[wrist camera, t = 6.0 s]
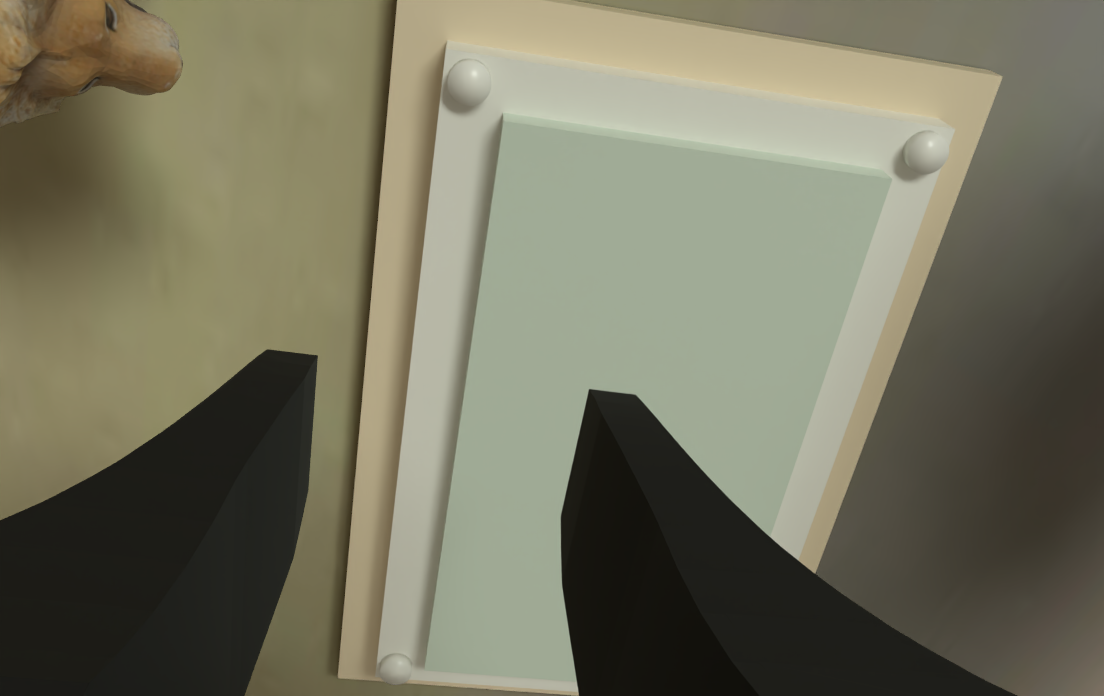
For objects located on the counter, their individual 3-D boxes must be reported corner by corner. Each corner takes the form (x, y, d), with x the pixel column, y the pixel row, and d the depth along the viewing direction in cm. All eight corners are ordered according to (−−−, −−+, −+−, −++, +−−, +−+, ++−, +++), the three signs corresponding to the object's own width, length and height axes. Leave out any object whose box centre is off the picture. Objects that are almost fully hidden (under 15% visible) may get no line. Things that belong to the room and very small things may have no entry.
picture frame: (988, 69, 20) (1037, 93, 18) (758, 692, 28) (777, 750, 26) (401, -29, 18) (393, -14, 17) (340, 661, 27) (330, 720, 25)
